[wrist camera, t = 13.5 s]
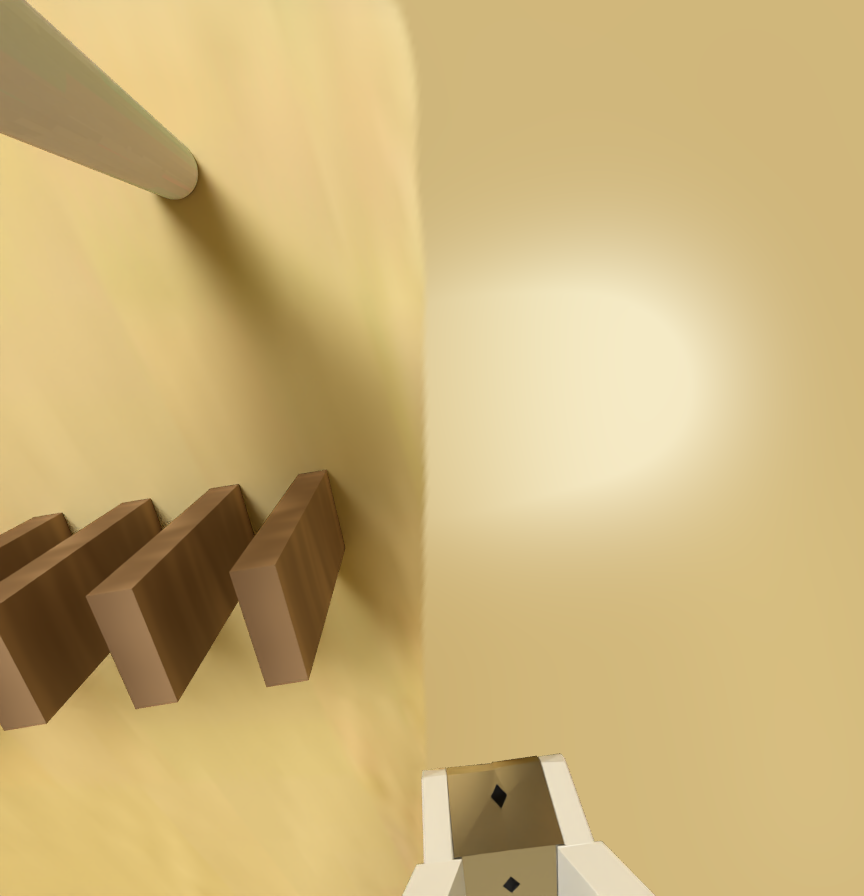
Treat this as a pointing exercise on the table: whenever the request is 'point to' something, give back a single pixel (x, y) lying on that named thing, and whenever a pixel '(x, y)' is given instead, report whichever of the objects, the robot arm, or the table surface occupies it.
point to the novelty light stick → (82, 109)
